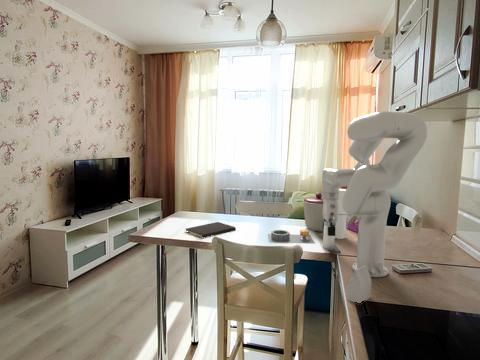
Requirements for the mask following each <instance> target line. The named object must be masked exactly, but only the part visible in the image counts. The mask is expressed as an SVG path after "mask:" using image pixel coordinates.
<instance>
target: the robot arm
mask: <svg viewBox="0 0 480 360" xmlns="http://www.w3.org/2000/svg"><path fill="white" fill-rule="evenodd" d="M427 127H428V126H427V124H426V121H425V120H424V119H423V118H422V116H420V115H418V114H415V113H411V112H403V111H402V112H401V111H386V110H385V111H377V112H373V113H369V114H365V115H363V116H359V117H355V118H354V119H353V120H352V121H350V122H349V124H348V125H347V131H346V132H347V134H346V135H347V137H348V138H349V139H350V141H352V143H351V144H350V146H349V147H348V153H349V156H350V157H351V158H352V159H353V160H355V161H356V164H355V166H354V167H353V168H342V169H341V168H336V167H335V168H334V167H333V168H330V167H329V168H324V169H323V170H322V174H321V175H322V176H321V177H322V178H321V194H322V199H324V200H323V230H324V221H327V222H328V225H329V227H328V236H335V228H336V225H335V224H336V223H335V222H337V221H338V202H337V200H339V189H340V188H344V187H345V189H346V191H345V193H344V196H343V200H342V206H343V209H344V211H345V212H346V213H347V214H349V215H354V216H357V215H362V216H361V218H360V221H359V225H358V233H357V245H356V246H357V248H356V262H354V263H353V264H352V265H351V268H352V271H354V270H356V269H358V268H360V267H362V266H364V265H365V266H366V265H367V269H368V272H369V275H370V277H371V278H383V277H385V276H388V274H389V270H388V269H387V268H388V267H385V266H384V265H385V249H386V234H387V220H388V216H389V213H390V209H391V202H392V201H391V197H390V195H389V193H388V192H390V191H394V190H395V189H396V188H397V187H398V186H399V184H400V183H401V181H402V179H403V178H404V176H405V174H406V172H407V171H408V170H409V167H410V166H411V164H412V163H413V161H414V159H416V157H417V155H418V154H419V153H420V151H421V150H422V149H423V147H424V146H425V143H426V141H427V137H428V128H427ZM384 139H397V141H396V142H394V143H393V144H392V145H391V146H390V147H389V148H388V149H387V150H386V151H385V153H384V155H383V157H382V159H381V160H380V161H379V162H378V163H375V164H373V163H372V164H371V163H370V162H371V161H370V159H371V156H373V154H374V152H375V151H376V150H377V148H378V147H379V146H380V144H382V142H383V140H384ZM346 187H347V188H346ZM330 222H331V224H330Z"/></svg>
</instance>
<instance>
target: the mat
mask: <svg viewBox="0 0 480 360" xmlns="http://www.w3.org/2000/svg"><path fill="white" fill-rule="evenodd" d="M327 251H328V252H329V253H333V254H334V253H337V254H339V253H340V254H341V253H342V252H341V250H340V248H338V246H337V245H336V244H334V249H333V250H328V249H327Z"/></svg>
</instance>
